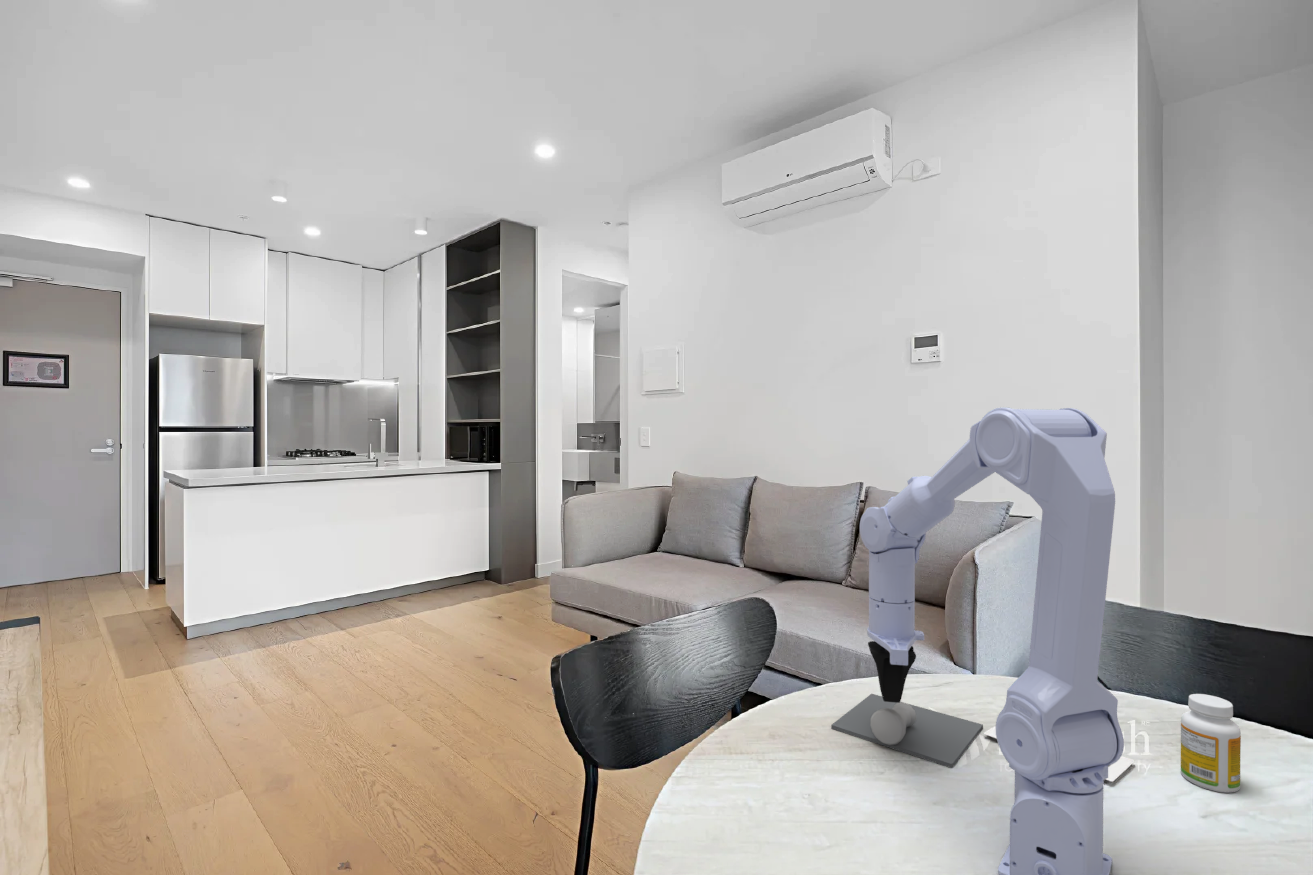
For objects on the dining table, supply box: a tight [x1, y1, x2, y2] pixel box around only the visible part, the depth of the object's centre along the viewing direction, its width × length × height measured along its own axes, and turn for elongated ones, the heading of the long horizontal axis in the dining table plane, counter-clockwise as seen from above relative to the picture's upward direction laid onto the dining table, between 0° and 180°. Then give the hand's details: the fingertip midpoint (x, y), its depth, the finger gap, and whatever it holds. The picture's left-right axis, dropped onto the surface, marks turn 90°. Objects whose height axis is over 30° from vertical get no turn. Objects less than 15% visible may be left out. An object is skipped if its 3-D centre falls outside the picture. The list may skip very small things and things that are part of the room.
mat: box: [830, 693, 984, 769], centre depth 90 cm, size 14×16×1 cm
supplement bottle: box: [1180, 693, 1242, 794], centre depth 76 cm, size 5×5×10 cm
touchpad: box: [982, 725, 1136, 783], centre depth 83 cm, size 8×15×2 cm, turn 37°
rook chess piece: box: [870, 701, 916, 745], centre depth 87 cm, size 4×4×8 cm
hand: (891, 700), depth 85 cm, fingers closed
